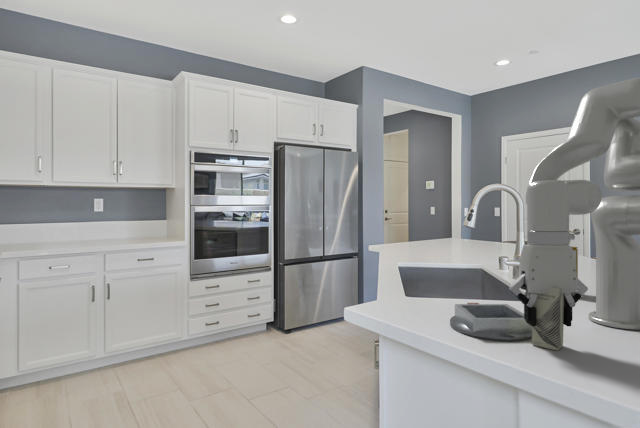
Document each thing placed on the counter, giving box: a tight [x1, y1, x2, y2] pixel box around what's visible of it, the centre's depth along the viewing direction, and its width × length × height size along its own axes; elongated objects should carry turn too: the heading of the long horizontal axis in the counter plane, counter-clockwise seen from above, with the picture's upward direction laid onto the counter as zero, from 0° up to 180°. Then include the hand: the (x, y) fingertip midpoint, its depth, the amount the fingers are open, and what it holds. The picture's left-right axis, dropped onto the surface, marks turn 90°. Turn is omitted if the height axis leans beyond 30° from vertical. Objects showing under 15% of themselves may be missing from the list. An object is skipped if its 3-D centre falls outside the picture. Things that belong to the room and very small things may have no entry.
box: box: [531, 288, 564, 351], centre depth 80 cm, size 5×4×13 cm
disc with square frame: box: [449, 302, 532, 342], centre depth 94 cm, size 19×22×4 cm
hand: (547, 323), depth 80 cm, fingers closed on box, 6 cm apart
